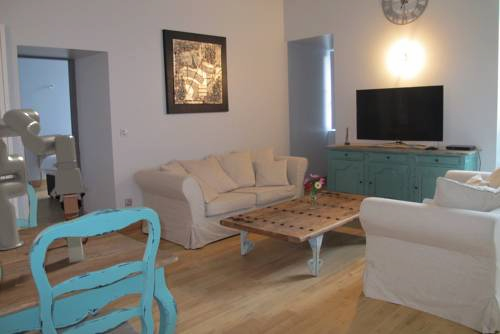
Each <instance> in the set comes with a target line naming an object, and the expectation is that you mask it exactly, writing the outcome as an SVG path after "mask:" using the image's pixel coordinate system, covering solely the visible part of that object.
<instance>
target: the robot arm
mask: <svg viewBox="0 0 500 334" xmlns="http://www.w3.org/2000/svg"><path fill="white" fill-rule="evenodd" d="M40 122H41V119H40V115H39V113H38V112H37V111H36V110H34V109H32V108H18V109H17V108H16V109H9V110H7V111H6V112H5V113H4V114H3V116H2V118H0V177H1V178H2V177H9V176H11V177H9V178H2V179H0V251H7V250H13V249H16V248H20V247H22V246H23V245H24V241H23V240H21V239H20V236H19V228H18V226H19V225H18V221H17V220H18V219H17V213H16V212H17V211H16V207H15V205H14V204H13V203H12V202H11V201H10V200H11V199H15V198H20V197H23V196H25V195H27V193H28V191H29V181H28V173H27V172H28V171H27V164H26V161H25V159H24V157H23V155H20V154H18V153H13V154H8V146H7V144H6V142H5V141H4V140H3V139H4V138H13V137H20V140H21V143H22V146H23V147H24V148H25V149H27V150H28V152H30V153H32V154H35V155H40V156H42V155H50V154H55V160H56V162H55V163H53V164H52V167H53V168H56V169H55V172H54V184H55V186H54V188H53V189H52V191H50V194H49V195H50V196H52V197H53V198H55V199H56V200H58V202H60V209H61V210H62V211H63V212H65V209H64V200H63V199H64V196H68V195H77V197H78V200H77V201H78V209H79V211H80V210H81V208H82V199H83V197H84V196H85V195H87V194H88V193H89V192H90V188H88V187H87V186H86V185H85V184H84V183H83V177H82V173H81V169H80V167H78V161H77V152H76V143H75V136H74V135H72V134H59V133H58V134H57V133H56V134H55V133H54V134H46V135H39V134H40V132H41V128H42V127H41V125H40ZM2 138H3V139H2Z"/></svg>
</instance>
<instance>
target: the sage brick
mask: <svg viewBox="0 0 500 334" xmlns="http://www.w3.org/2000/svg"><path fill="white" fill-rule="evenodd" d="M81 243H82V239H81V238H80V237H68V238H67V242H66V244H67V249H68V248H74V247H81Z"/></svg>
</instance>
